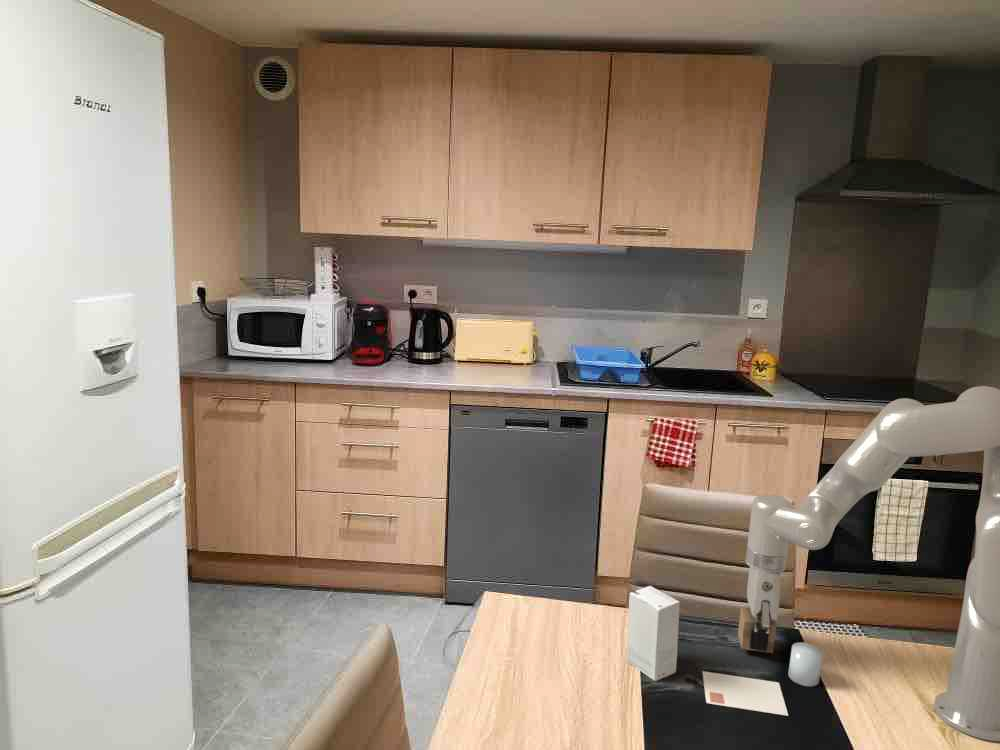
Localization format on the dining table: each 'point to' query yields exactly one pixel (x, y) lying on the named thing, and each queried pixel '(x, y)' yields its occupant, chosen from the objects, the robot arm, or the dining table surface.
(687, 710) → the dining table surface
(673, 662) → the skincare box
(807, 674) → the grey rounded cylinder
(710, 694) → the letter
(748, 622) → the walnut block
